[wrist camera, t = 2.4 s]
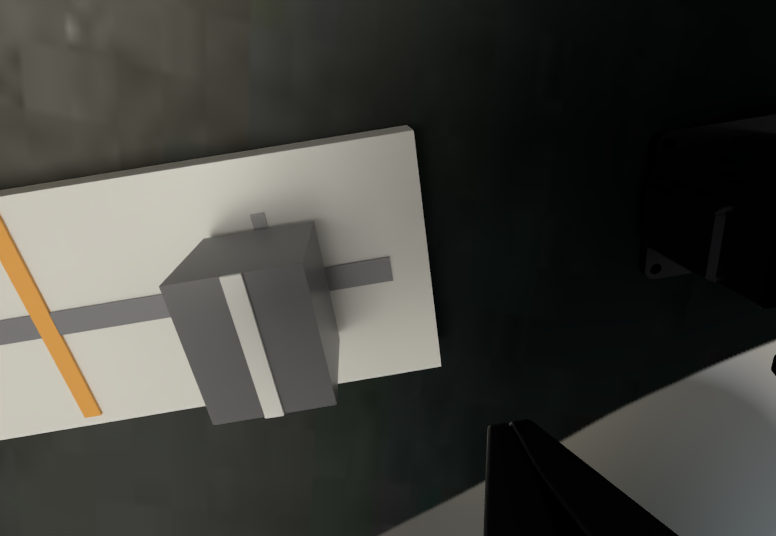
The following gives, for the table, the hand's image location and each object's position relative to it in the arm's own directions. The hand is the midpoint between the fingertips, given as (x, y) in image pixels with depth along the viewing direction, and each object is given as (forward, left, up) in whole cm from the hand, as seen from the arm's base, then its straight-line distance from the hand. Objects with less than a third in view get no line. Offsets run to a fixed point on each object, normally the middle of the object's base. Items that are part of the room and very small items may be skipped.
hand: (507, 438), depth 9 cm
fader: (+6, 0, -9) cm, 11 cm away
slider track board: (+10, 0, -11) cm, 15 cm away
